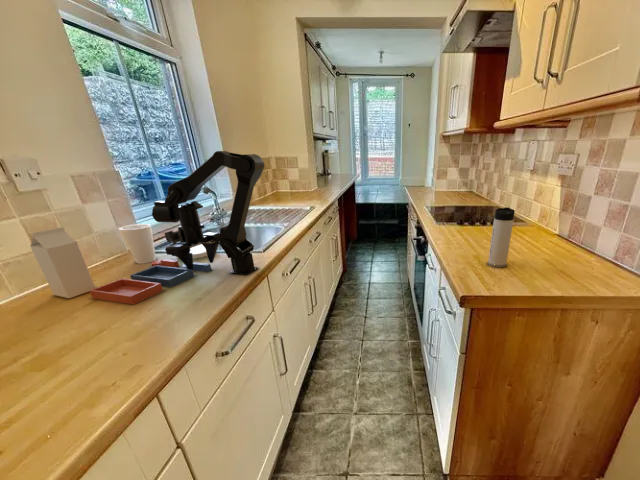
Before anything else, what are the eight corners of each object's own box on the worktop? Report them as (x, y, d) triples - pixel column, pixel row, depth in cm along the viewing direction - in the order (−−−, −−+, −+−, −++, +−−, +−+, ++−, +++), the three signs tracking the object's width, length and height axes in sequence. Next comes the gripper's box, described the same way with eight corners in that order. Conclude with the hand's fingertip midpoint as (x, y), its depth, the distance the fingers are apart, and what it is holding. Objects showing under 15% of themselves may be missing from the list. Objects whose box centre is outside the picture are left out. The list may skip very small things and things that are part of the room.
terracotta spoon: (183, 265, 116) (181, 259, 115) (172, 269, 112) (170, 263, 111) (160, 262, 119) (158, 256, 118) (148, 267, 115) (146, 260, 114)
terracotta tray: (163, 290, 96) (160, 283, 95) (133, 304, 88) (130, 296, 87) (124, 285, 100) (121, 278, 99) (92, 298, 91) (89, 290, 90)
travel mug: (508, 263, 116) (517, 208, 108) (503, 269, 111) (512, 211, 103) (490, 260, 119) (498, 206, 111) (485, 265, 114) (493, 209, 106)
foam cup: (129, 266, 115) (116, 231, 110) (132, 259, 123) (121, 225, 117) (160, 261, 120) (149, 227, 114) (161, 255, 127) (151, 222, 122)
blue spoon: (214, 268, 113) (213, 262, 112) (205, 273, 109) (203, 266, 108) (190, 266, 115) (188, 259, 114) (180, 270, 111) (178, 264, 110)
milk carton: (96, 289, 97) (71, 228, 89) (69, 299, 91) (39, 234, 83) (81, 286, 99) (55, 226, 91) (53, 295, 93) (23, 232, 85)
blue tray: (194, 276, 106) (192, 269, 105) (170, 287, 98) (168, 279, 97) (158, 272, 110) (156, 265, 109) (132, 282, 102) (129, 275, 101)
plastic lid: (182, 251, 131) (181, 245, 130) (219, 248, 134) (218, 243, 133) (171, 262, 119) (169, 256, 118) (211, 259, 122) (210, 253, 121)
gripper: (192, 215, 115) (203, 256, 121) (145, 227, 98) (160, 274, 105) (218, 217, 112) (227, 259, 118) (173, 229, 96) (187, 277, 102)
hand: (201, 266), depth 111 cm, fingers open, 9 cm apart
